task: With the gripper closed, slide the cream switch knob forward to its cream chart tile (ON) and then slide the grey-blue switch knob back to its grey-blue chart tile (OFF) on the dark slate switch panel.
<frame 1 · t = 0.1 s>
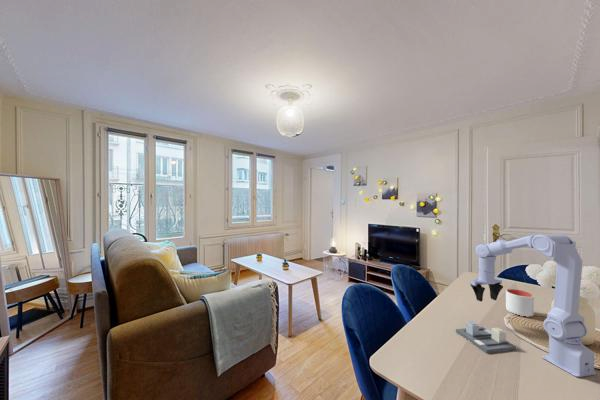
hand: (486, 300, 105), 10 cm above the table, fingers open, 7 cm apart
switch panel: (484, 340, 91), on the table
grey switch: (472, 328, 94), point 4 cm above the table, slide at 6.0 cm
cream switch: (498, 334, 89), point 3 cm above the table, slide at 0.0 cm
cup: (519, 313, 113), on the table
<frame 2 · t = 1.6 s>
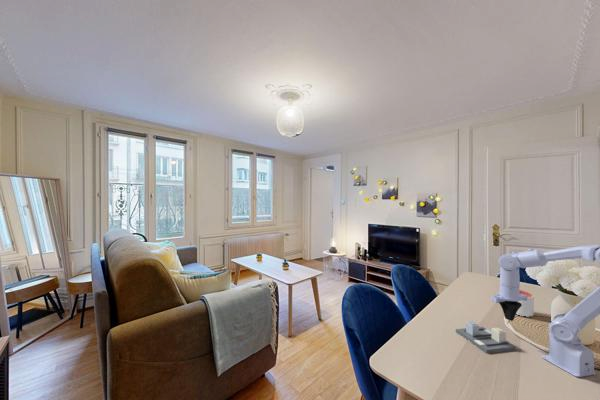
hand: (509, 319, 90), 9 cm above the table, fingers closed
nothing on the table moved.
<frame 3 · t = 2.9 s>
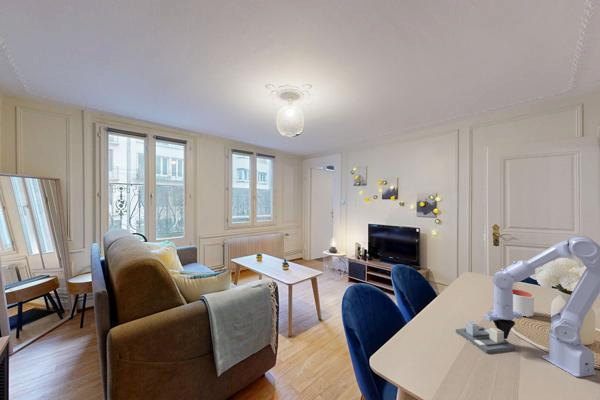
hand: (502, 337, 89), 2 cm above the table, fingers closed
cream switch: (496, 334, 89), point 3 cm above the table, slide at 1.0 cm, touching gripper
everything else where it was.
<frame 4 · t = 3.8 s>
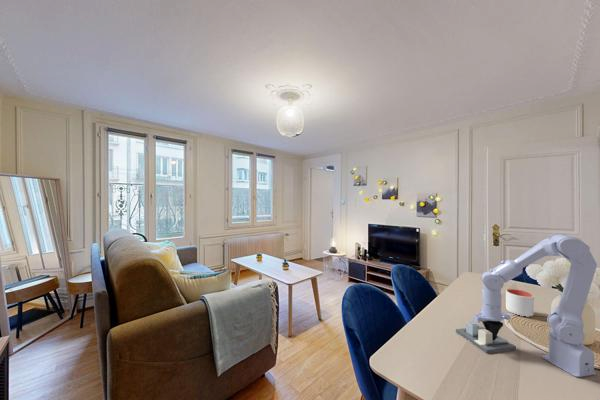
hand: (491, 338, 89), 2 cm above the table, fingers closed
cream switch: (485, 336, 88), point 4 cm above the table, slide at 6.1 cm, touching gripper
everything else where it was.
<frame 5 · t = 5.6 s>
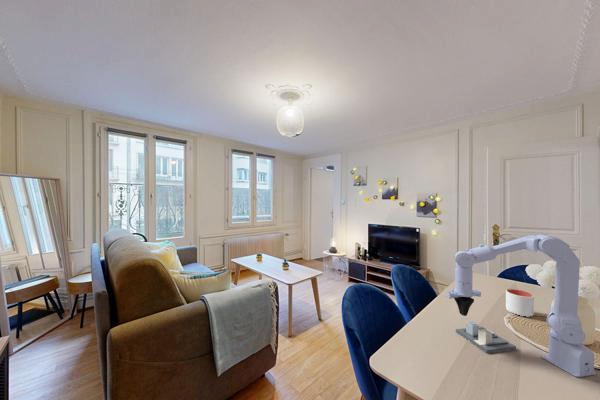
hand: (463, 314, 93), 10 cm above the table, fingers closed
cream switch: (485, 336, 88), point 4 cm above the table, slide at 6.0 cm
everything else where it was.
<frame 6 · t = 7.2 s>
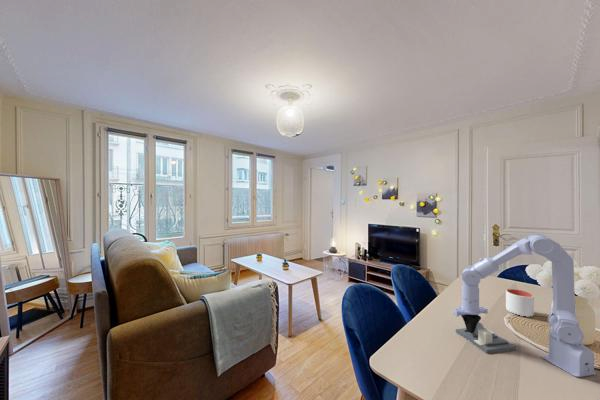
hand: (470, 331, 93), 2 cm above the table, fingers closed
grey switch: (476, 327, 94), point 3 cm above the table, slide at 4.0 cm, touching gripper
everything else where it was.
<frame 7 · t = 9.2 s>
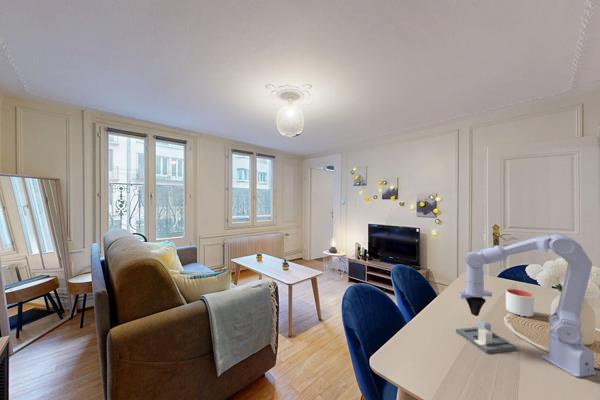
hand: (474, 314, 94), 9 cm above the table, fingers closed
grey switch: (484, 327, 94), point 3 cm above the table, slide at 0.4 cm, touching switch panel
everything else where it was.
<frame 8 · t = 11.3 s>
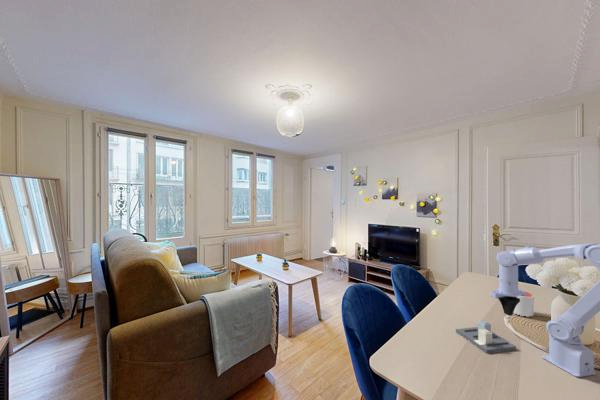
hand: (508, 314, 92), 10 cm above the table, fingers closed
nothing on the table moved.
at the end: cream switch slide at 6.0 cm; grey switch slide at 0.4 cm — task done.
